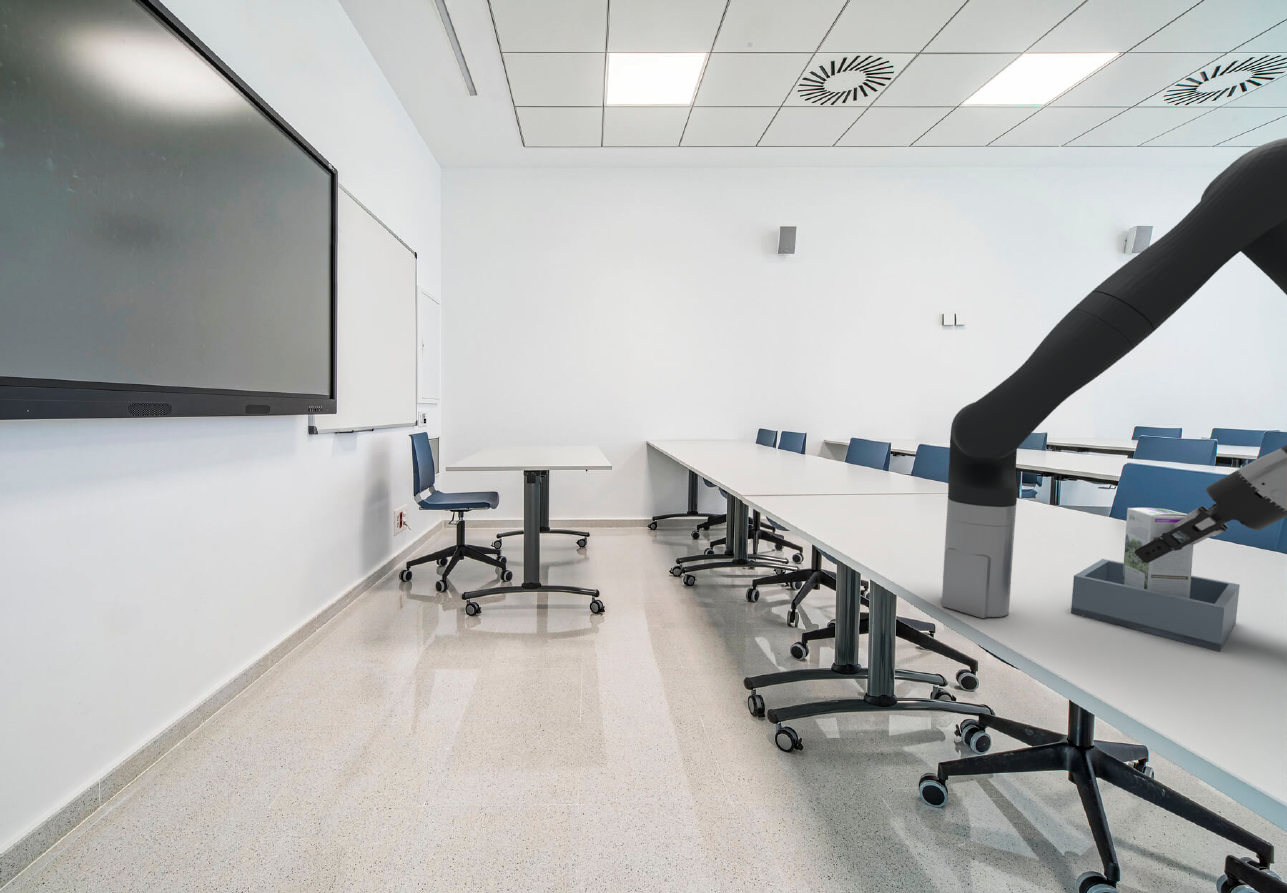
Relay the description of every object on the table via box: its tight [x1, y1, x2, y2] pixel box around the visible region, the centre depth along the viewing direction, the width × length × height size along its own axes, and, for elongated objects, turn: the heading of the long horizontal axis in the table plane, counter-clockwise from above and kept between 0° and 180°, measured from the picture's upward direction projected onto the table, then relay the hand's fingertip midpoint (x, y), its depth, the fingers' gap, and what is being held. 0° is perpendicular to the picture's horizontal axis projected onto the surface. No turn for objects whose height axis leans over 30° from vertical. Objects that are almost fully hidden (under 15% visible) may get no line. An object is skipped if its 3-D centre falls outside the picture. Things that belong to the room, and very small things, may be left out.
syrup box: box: [1122, 507, 1195, 599], centre depth 81 cm, size 6×6×14 cm
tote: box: [1070, 558, 1241, 652], centre depth 81 cm, size 16×16×6 cm
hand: (1146, 552), depth 82 cm, fingers closed on syrup box, 8 cm apart
